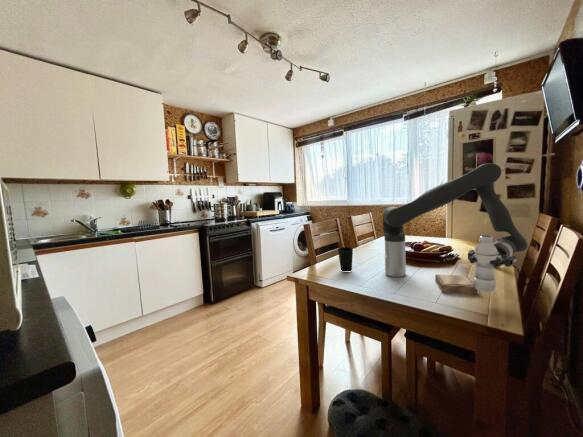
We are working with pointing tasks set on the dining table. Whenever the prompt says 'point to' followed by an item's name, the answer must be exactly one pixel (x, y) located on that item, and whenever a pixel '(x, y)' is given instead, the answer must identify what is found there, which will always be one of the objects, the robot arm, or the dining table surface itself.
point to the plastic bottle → (485, 264)
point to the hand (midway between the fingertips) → (482, 262)
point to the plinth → (455, 284)
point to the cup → (345, 258)
